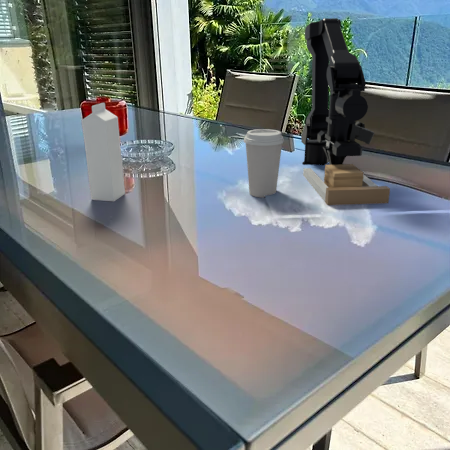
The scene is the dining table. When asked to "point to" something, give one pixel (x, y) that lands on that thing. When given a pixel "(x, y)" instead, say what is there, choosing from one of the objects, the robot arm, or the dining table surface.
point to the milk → (103, 154)
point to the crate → (343, 176)
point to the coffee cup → (263, 160)
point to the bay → (348, 191)
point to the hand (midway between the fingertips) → (335, 175)
